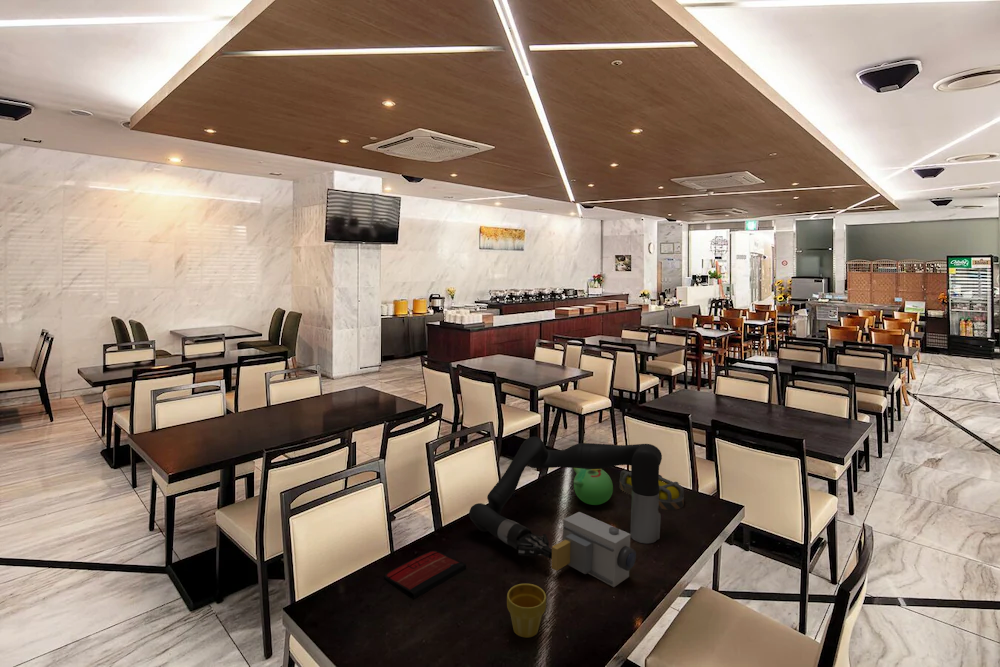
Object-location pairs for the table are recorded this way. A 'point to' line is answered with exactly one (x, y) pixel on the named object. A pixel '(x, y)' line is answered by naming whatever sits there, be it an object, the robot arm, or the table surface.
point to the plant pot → (526, 608)
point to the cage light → (667, 493)
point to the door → (573, 554)
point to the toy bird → (592, 486)
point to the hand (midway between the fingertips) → (553, 555)
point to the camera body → (603, 547)
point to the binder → (424, 572)
